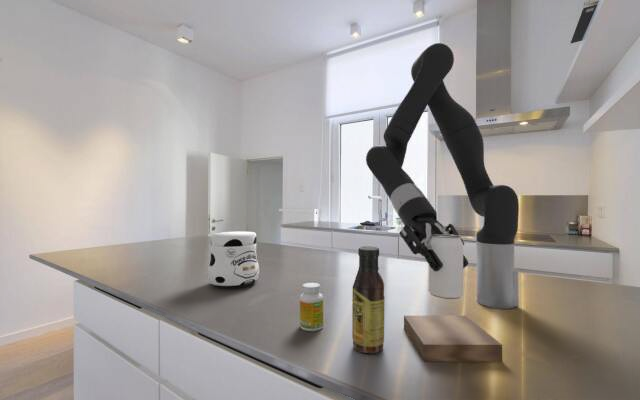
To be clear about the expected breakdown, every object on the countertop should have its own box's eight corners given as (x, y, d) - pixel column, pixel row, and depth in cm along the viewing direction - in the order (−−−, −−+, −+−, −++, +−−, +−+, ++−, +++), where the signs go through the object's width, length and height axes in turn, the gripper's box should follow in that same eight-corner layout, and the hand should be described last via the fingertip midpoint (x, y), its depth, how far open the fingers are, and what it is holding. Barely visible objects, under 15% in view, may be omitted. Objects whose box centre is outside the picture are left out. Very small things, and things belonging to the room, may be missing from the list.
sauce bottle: (349, 341, 63) (349, 245, 63) (379, 339, 63) (378, 244, 63) (356, 357, 56) (355, 250, 56) (389, 355, 57) (388, 249, 57)
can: (466, 300, 58) (467, 238, 58) (430, 298, 59) (431, 236, 59) (458, 291, 64) (458, 234, 64) (426, 288, 65) (426, 233, 65)
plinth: (466, 328, 68) (466, 315, 68) (502, 361, 54) (502, 344, 54) (403, 328, 69) (403, 315, 69) (424, 361, 55) (423, 344, 55)
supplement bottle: (315, 333, 66) (314, 289, 66) (295, 328, 69) (295, 285, 69) (327, 325, 71) (327, 283, 71) (308, 320, 74) (308, 280, 74)
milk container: (252, 291, 98) (252, 236, 98) (199, 292, 98) (199, 236, 98) (263, 278, 115) (263, 231, 115) (218, 278, 115) (218, 231, 115)
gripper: (394, 194, 66) (435, 259, 55) (444, 196, 71) (489, 254, 61) (379, 217, 70) (414, 281, 60) (427, 217, 76) (466, 275, 65)
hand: (452, 267), depth 60 cm, fingers closed on can, 6 cm apart
